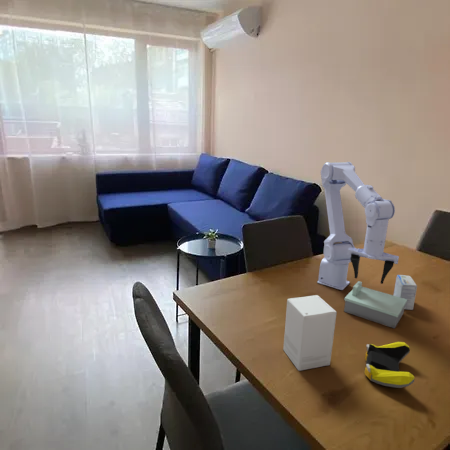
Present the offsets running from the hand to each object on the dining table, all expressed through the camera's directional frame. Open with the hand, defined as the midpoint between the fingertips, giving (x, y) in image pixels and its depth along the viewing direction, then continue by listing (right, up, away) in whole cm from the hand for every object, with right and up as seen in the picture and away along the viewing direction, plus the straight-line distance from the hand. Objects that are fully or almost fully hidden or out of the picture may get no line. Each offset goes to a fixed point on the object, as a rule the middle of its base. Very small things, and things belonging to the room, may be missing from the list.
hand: (368, 279), depth 116 cm
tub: (+1, -10, -1) cm, 10 cm away
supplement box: (-25, -16, -23) cm, 37 cm away
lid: (+1, -7, -2) cm, 7 cm away
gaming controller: (-7, -19, -27) cm, 34 cm away
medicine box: (+13, -9, +5) cm, 17 cm away
